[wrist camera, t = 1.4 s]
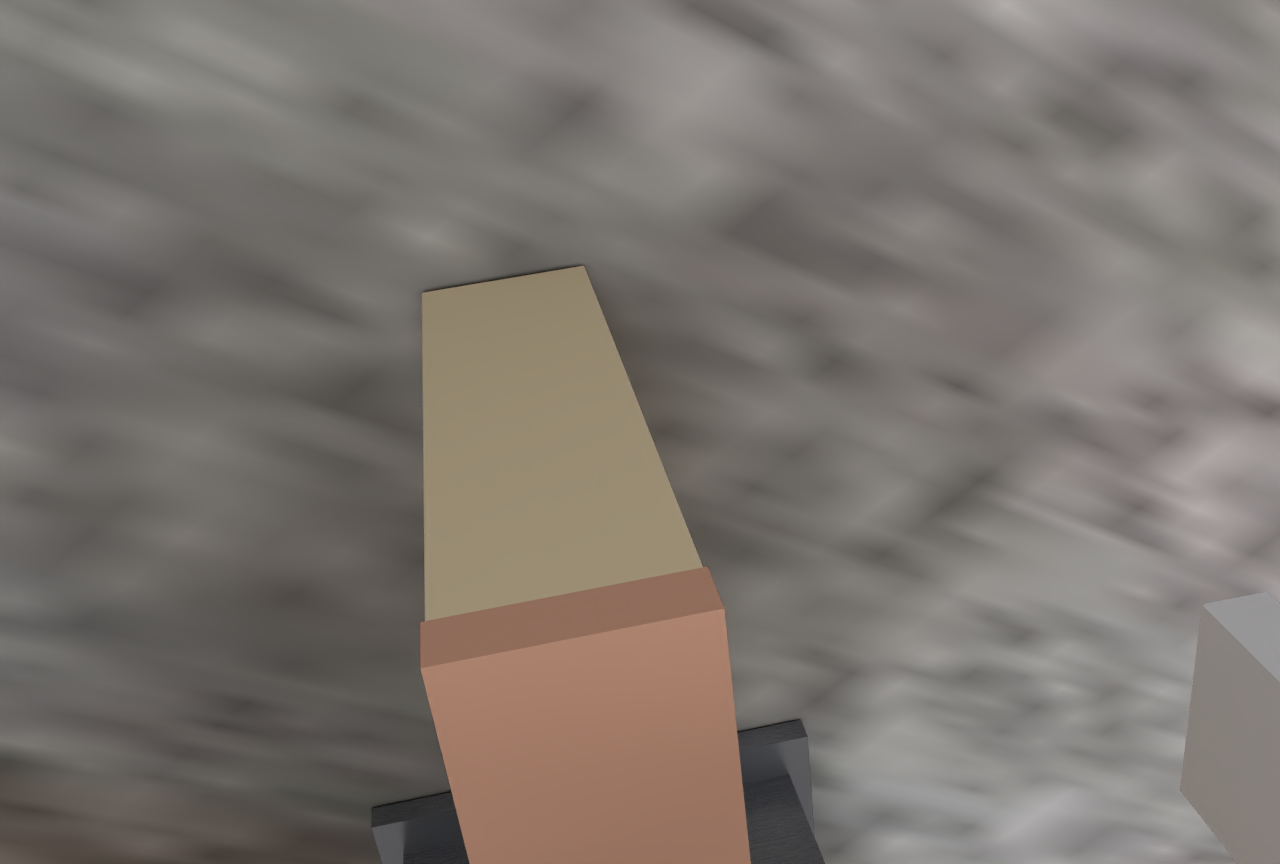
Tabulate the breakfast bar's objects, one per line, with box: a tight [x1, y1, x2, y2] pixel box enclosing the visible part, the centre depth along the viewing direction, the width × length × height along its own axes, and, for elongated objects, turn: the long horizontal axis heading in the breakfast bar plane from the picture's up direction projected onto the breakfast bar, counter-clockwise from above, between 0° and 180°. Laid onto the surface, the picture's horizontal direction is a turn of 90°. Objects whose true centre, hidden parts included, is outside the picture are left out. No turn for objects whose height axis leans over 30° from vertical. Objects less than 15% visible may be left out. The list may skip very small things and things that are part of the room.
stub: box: [420, 266, 751, 864], centre depth 19 cm, size 3×8×11 cm, turn 7°
